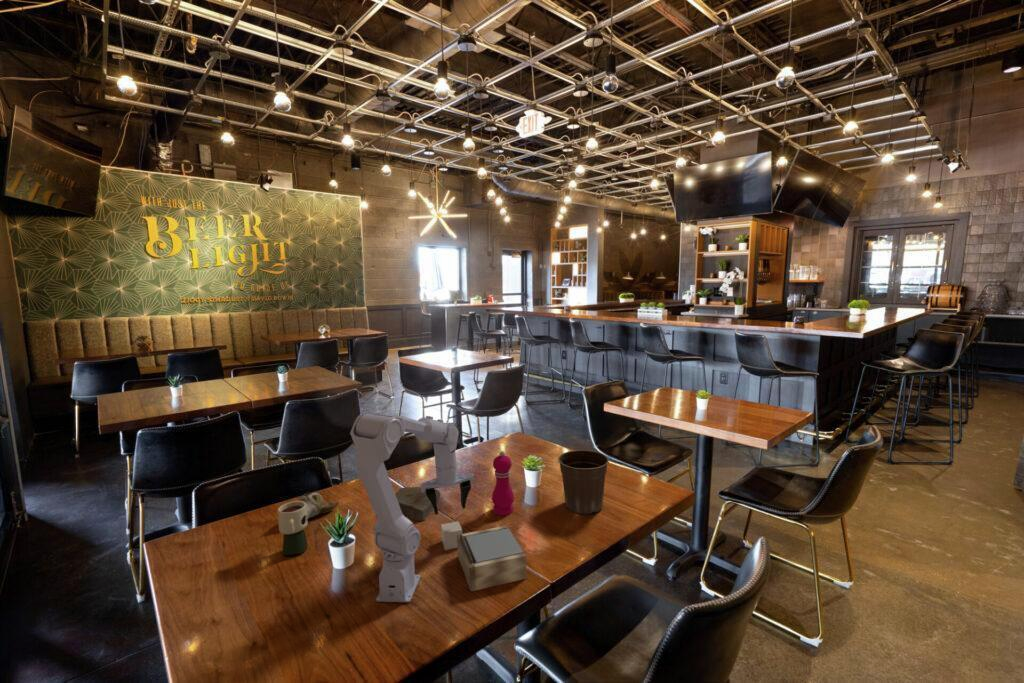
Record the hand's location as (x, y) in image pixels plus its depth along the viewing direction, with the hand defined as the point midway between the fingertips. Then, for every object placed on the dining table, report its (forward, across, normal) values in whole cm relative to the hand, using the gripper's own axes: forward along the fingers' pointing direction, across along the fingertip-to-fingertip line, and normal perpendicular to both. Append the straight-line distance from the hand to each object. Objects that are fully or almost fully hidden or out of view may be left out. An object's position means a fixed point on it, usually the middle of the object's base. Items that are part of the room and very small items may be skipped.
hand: (449, 509), depth 126 cm
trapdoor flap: (+5, -8, +15) cm, 18 cm away
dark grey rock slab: (+11, +9, -25) cm, 29 cm away
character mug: (+8, +42, -10) cm, 44 cm away
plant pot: (+13, -44, -6) cm, 47 cm away
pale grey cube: (+10, 0, +1) cm, 10 cm away
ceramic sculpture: (+10, +40, -30) cm, 51 cm away
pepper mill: (+12, -19, -12) cm, 25 cm away
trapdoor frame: (+10, -8, +15) cm, 20 cm away
